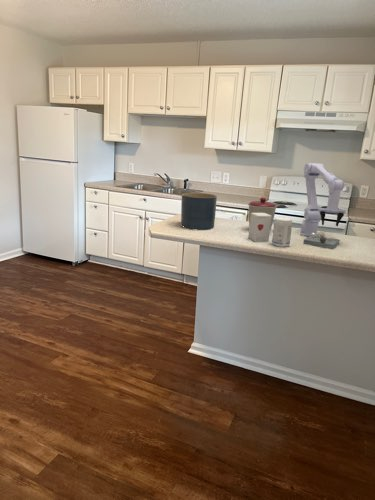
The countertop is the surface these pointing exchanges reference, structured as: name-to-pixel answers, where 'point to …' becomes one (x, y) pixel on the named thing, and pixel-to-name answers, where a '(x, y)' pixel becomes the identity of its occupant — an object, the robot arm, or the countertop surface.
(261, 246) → the countertop surface
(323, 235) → the cream ball
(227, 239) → the countertop surface
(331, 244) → the grey board with rails
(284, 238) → the supplement tub
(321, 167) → the robot arm
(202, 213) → the planter
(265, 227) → the supplement box
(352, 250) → the countertop surface
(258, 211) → the canister
